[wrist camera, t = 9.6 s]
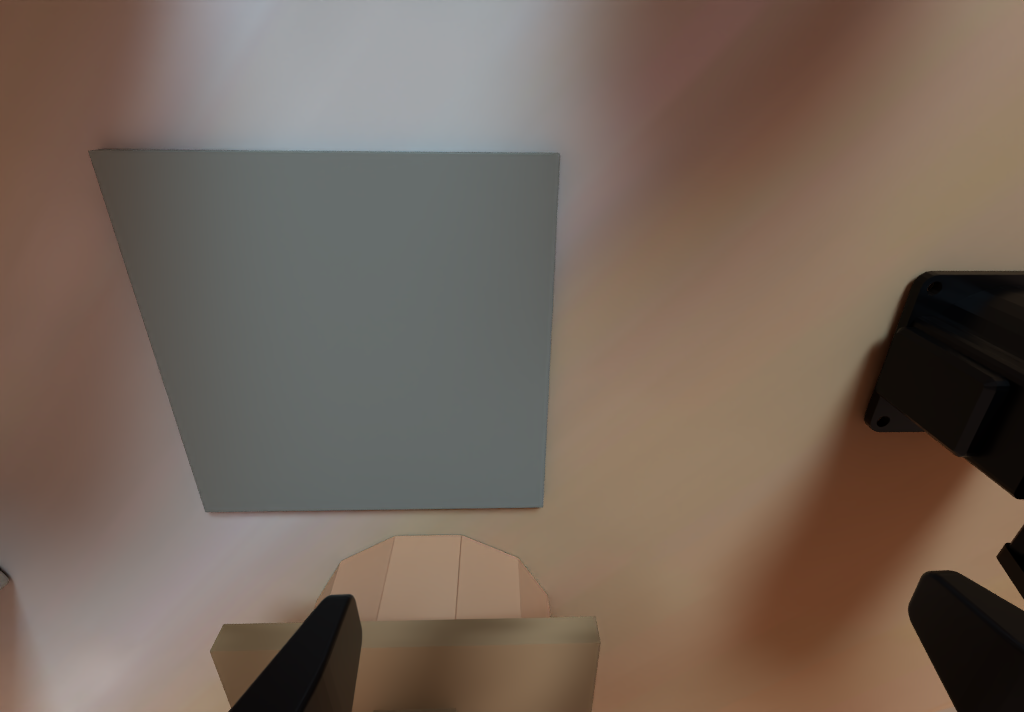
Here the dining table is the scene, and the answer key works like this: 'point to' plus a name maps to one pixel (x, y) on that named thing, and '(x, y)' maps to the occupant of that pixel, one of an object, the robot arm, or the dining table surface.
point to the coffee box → (3, 580)
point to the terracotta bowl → (437, 581)
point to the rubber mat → (346, 320)
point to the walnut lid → (442, 663)
